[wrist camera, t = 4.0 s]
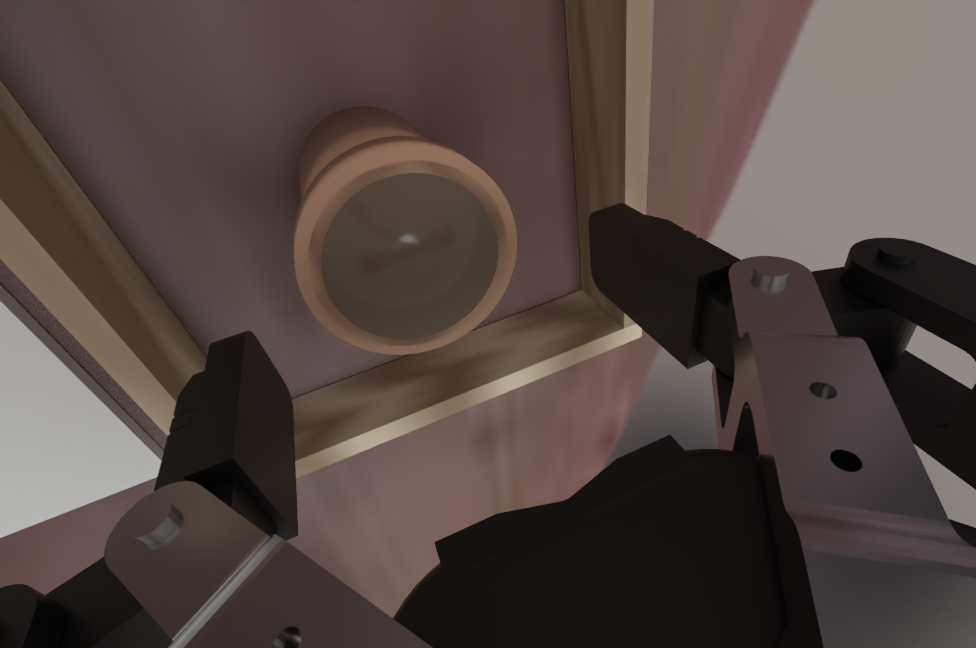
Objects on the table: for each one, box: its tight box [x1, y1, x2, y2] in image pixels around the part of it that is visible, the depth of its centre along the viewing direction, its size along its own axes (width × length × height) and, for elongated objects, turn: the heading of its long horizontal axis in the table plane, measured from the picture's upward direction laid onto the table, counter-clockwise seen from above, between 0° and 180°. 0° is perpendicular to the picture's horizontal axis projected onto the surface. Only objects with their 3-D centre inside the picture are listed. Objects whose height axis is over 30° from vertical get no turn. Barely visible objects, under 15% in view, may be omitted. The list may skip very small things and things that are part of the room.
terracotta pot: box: [293, 107, 517, 355], centre depth 15 cm, size 6×6×8 cm
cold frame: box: [0, 0, 654, 478], centre depth 16 cm, size 20×20×7 cm
